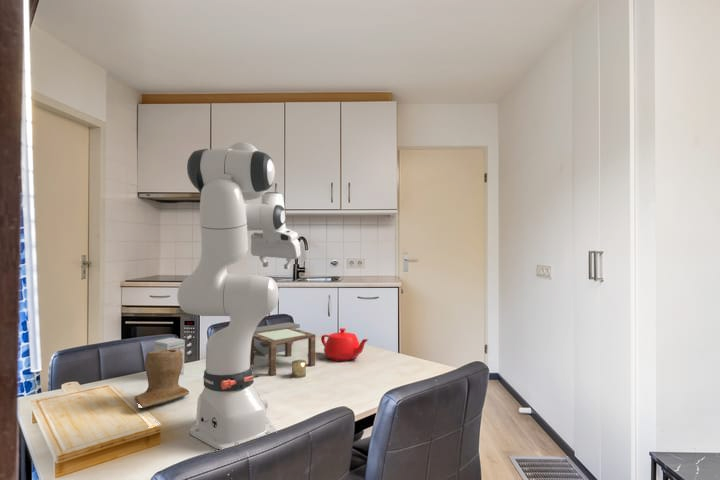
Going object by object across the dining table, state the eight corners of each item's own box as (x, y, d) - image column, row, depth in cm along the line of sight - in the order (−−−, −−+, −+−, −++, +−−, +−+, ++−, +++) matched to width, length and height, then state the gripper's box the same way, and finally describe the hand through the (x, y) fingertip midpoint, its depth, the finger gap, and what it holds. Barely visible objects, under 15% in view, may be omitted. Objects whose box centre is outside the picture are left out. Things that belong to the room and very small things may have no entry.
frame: (315, 365, 151) (315, 334, 151) (271, 375, 138) (271, 342, 138) (289, 355, 166) (289, 327, 166) (246, 363, 153) (247, 333, 153)
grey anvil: (289, 345, 183) (290, 322, 183) (299, 348, 178) (299, 324, 178) (241, 355, 165) (241, 329, 166) (250, 358, 160) (250, 332, 160)
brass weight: (308, 376, 138) (308, 362, 139) (296, 379, 135) (296, 364, 135) (300, 372, 142) (300, 359, 142) (289, 375, 139) (289, 361, 139)
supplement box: (152, 376, 137) (153, 340, 137) (171, 370, 143) (172, 336, 144) (166, 380, 133) (167, 343, 134) (184, 373, 140) (185, 339, 140)
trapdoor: (305, 337, 152) (305, 334, 152) (274, 342, 142) (274, 339, 142) (287, 331, 162) (287, 328, 162) (256, 336, 153) (256, 333, 153)
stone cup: (175, 389, 125) (176, 342, 125) (194, 397, 117) (195, 348, 118) (123, 403, 113) (125, 352, 113) (141, 414, 106) (142, 359, 106)
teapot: (309, 357, 163) (309, 328, 163) (332, 349, 176) (333, 322, 176) (357, 367, 148) (357, 336, 149) (378, 358, 161) (378, 329, 161)
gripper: (246, 233, 149) (248, 267, 152) (294, 236, 143) (296, 272, 147) (254, 230, 155) (257, 263, 158) (301, 233, 149) (302, 267, 152)
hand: (276, 267), depth 152 cm, fingers open, 8 cm apart
